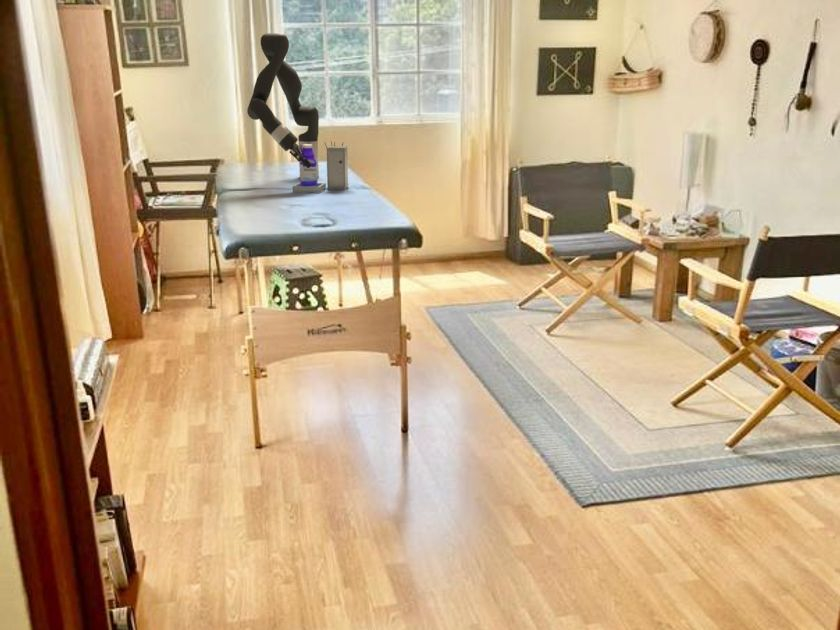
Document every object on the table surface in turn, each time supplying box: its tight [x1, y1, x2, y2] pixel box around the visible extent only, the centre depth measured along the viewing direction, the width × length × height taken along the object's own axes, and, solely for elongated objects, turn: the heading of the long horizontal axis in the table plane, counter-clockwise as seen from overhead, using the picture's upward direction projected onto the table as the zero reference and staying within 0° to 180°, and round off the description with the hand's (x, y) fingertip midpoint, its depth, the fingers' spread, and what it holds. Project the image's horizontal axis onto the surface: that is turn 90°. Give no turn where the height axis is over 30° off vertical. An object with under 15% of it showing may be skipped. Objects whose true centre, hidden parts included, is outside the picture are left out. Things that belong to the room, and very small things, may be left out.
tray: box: [291, 182, 327, 193], centre depth 351 cm, size 12×12×2 cm
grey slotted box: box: [326, 145, 349, 190], centre depth 355 cm, size 7×8×18 cm
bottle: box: [299, 144, 318, 186], centre depth 348 cm, size 7×6×17 cm
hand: (312, 165), depth 348 cm, fingers closed on bottle, 6 cm apart
